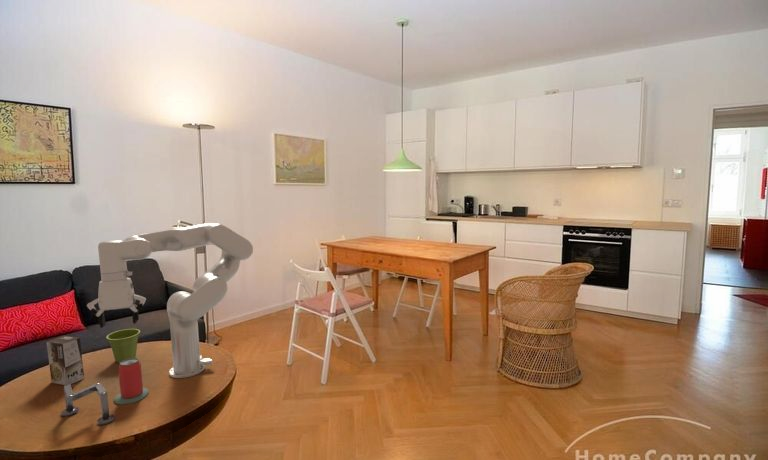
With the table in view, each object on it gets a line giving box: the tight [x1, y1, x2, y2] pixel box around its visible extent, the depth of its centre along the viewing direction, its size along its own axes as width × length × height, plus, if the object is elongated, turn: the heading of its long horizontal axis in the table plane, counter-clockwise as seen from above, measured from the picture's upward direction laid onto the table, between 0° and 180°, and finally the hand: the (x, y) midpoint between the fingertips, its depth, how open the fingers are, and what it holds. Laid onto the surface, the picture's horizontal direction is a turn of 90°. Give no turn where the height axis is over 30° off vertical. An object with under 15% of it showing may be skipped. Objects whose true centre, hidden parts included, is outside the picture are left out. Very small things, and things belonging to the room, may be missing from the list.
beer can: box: [117, 357, 144, 399], centre depth 137 cm, size 7×7×12 cm
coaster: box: [113, 387, 150, 405], centre depth 137 cm, size 10×10×1 cm
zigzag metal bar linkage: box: [60, 382, 116, 426], centre depth 125 cm, size 17×13×9 cm
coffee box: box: [46, 335, 85, 386], centre depth 149 cm, size 9×6×16 cm
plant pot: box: [105, 328, 141, 364], centre depth 166 cm, size 12×12×11 cm
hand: (119, 324), depth 138 cm, fingers open, 9 cm apart
